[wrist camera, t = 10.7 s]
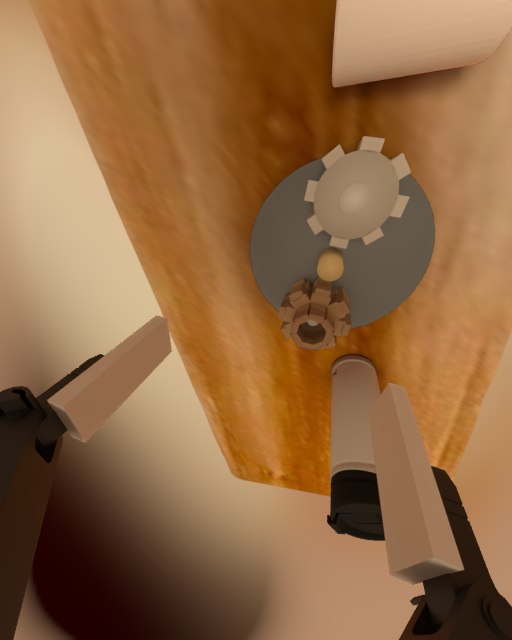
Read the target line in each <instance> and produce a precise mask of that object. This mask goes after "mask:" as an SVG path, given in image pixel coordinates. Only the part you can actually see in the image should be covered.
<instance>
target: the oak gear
mask: <svg viewBox="0 0 512 640" xmlns="http://www.w3.org/2000/svg"><path fill="white" fill-rule="evenodd" d="M331 288H332V284H331V281H325V280H323V279H321V278H320V277H319V276H318V279H317V281H315V282H314V285H313V287H312V285H311V284H310V282H309V281H308V282H307V281H306V279H305V278H303V279H301V280H299V281H297V282H296V283H294V284H293V286H292V289H291V291H290V294H287V293H286V295H285V297H284V299H283V302H282V304H281V306H280V310H279V315H278V318H281V319H283V324H282V327H281V329H280V330H281V331H282V332H283V334H284V335H285V336H286V338H287V339H288V338H290V337H292V339H293V340H294V342H295V343H296V344H297V345H298V346H299V347H302V348H305V349H308V350H312V351H313V348H314V349H315V351H316V350H319V349H321V348H324V350H325V349H327V348H330V347H333V346H336V336H340V335H342V336H346V337H347V334H348V332H349V330H350V328H351V317H350V312H351V311H350V303H349V297H348V295H347V293H346V291H345V290H344V288H343V287H341V288H339V289H337V288H335V289H333V290H331ZM309 320H310V321H314V322H317V323H318V325H316V326H310V325H309V324H308V323H307V321H309Z"/></svg>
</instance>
